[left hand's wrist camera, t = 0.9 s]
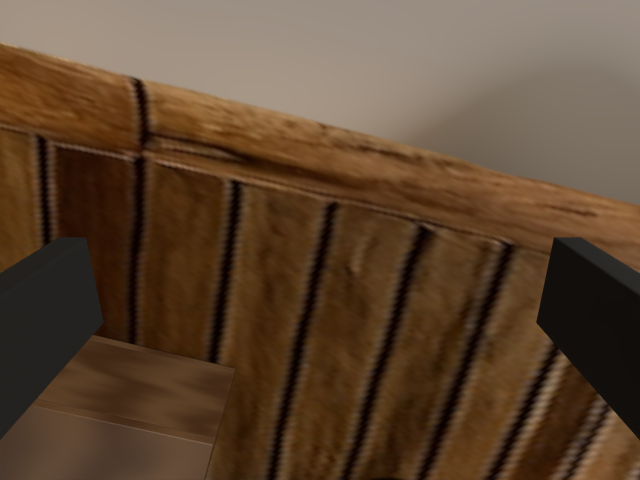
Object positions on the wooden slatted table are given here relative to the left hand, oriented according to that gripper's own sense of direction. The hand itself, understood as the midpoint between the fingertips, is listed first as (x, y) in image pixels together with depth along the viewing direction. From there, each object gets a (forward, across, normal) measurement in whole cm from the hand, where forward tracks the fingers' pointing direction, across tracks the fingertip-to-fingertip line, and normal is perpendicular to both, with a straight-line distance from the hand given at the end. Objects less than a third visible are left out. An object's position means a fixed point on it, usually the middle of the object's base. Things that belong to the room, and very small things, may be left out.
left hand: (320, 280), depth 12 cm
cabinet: (+26, +20, +26) cm, 42 cm away
